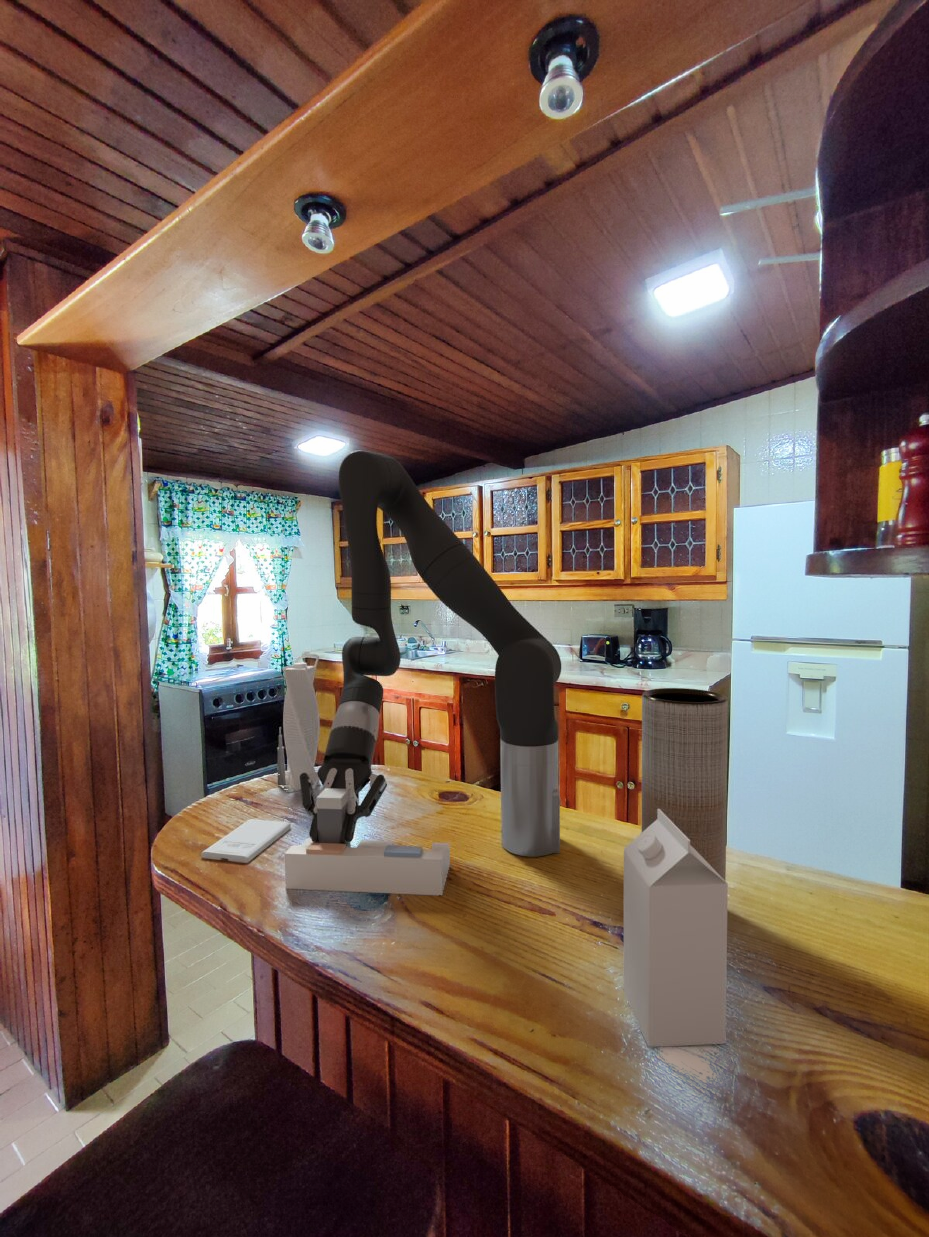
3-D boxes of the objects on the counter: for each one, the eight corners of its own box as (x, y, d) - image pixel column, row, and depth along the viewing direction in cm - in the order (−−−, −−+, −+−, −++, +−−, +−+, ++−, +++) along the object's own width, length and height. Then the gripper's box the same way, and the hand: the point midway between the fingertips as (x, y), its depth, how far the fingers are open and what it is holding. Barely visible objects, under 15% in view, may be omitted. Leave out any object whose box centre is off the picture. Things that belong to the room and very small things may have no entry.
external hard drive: (290, 831, 96) (247, 866, 84) (249, 827, 98) (201, 860, 86) (290, 822, 96) (247, 855, 84) (249, 818, 98) (200, 850, 86)
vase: (625, 899, 73) (625, 691, 72) (684, 883, 77) (686, 685, 75) (679, 943, 64) (681, 705, 62) (743, 923, 67) (746, 698, 66)
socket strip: (449, 865, 82) (449, 829, 82) (442, 895, 74) (441, 855, 74) (307, 860, 85) (306, 824, 84) (285, 888, 77) (284, 849, 76)
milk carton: (691, 988, 57) (693, 807, 56) (726, 1046, 50) (729, 839, 49) (622, 991, 56) (623, 809, 55) (648, 1049, 49) (649, 841, 48)
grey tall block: (350, 861, 82) (349, 788, 82) (343, 873, 79) (341, 798, 78) (327, 860, 83) (325, 788, 82) (318, 872, 79) (316, 797, 79)
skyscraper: (313, 776, 124) (309, 652, 122) (329, 786, 118) (325, 655, 116) (275, 785, 118) (271, 655, 117) (290, 796, 112) (286, 659, 111)
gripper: (304, 723, 88) (273, 831, 77) (391, 724, 86) (372, 835, 75) (318, 746, 94) (290, 850, 82) (399, 748, 92) (383, 854, 81)
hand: (329, 842), depth 79 cm, fingers closed on grey tall block, 3 cm apart
